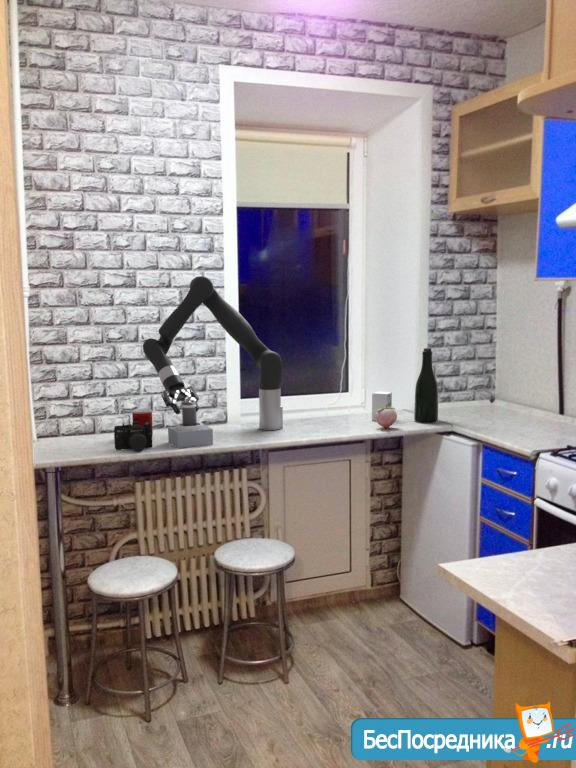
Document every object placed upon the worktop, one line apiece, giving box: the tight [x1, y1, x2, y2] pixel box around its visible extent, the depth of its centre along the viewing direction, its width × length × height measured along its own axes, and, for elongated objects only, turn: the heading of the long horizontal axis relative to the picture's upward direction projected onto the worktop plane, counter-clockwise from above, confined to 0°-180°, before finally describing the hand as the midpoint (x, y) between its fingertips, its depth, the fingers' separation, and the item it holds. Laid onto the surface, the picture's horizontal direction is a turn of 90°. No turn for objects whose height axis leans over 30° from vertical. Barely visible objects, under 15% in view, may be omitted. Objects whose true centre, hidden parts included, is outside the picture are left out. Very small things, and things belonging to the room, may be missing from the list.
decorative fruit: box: [375, 405, 398, 429], centre depth 288 cm, size 9×8×10 cm
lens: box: [181, 401, 197, 426], centre depth 260 cm, size 5×5×10 cm
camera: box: [113, 421, 154, 452], centre depth 251 cm, size 14×11×10 cm
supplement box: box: [371, 391, 393, 422], centre depth 307 cm, size 7×7×13 cm
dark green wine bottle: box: [413, 347, 439, 424], centre depth 301 cm, size 10×10×33 cm
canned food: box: [131, 408, 154, 436], centre depth 273 cm, size 8×8×11 cm
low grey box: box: [167, 421, 214, 449], centre depth 261 cm, size 14×12×8 cm
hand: (188, 411), depth 261 cm, fingers open, 8 cm apart
